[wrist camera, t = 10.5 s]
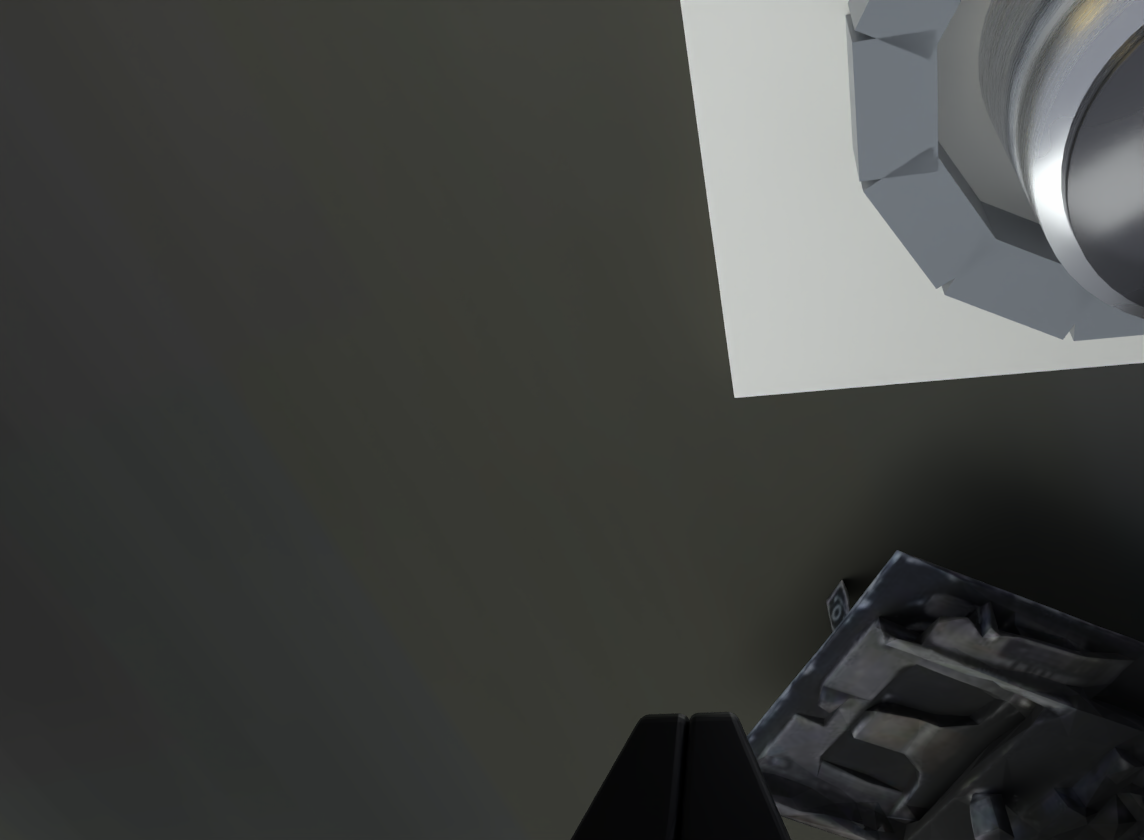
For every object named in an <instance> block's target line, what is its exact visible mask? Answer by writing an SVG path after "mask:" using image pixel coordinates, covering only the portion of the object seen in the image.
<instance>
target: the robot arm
mask: <svg viewBox="0 0 1144 840" xmlns="http://www.w3.org/2000/svg"><path fill="white" fill-rule="evenodd" d="M571 840H791V839H790V836H789V834H788V832H787V829H786V827H785V825H784V822H783V820H782V818H781V815H780V813H779V811H778V809H777V806H776V804H775V802H774V799H773V797H772V795H771V792H770V790H769V788H768V785H767V783H766V781H765V778H764V776H763V774H762V771H761V769H760V767H759V764H758V762H757V760H756V757H755V755H754V753H753V750H752V748H751V746H750V744H749V741H748V739H747V737H746V734H745V732H744V730H743V727H742V725H741V723H740V721H739V719H738V717H737V716H736V715H735V714H734V713H732V712H711V713H696V714H694V715H692V716H691V718H690V720H689V719H688V717H687V716H685V715H684V714H680V713H679V714H649V715H645V716H644V717H642V718H641V719H640V720H639V721H638V723H637V724H636V726H635V728H634V729H633V731H632V733H631V735H630V736H629V738H628V740H627V742H626V743H625V745H624V747H623V749H622V751H621V752H620V754H619V756H618V758H617V759H616V761H615V763H614V765H613V766H612V768H611V770H610V772H609V773H608V775H607V777H606V779H605V780H604V782H603V784H602V786H601V787H600V789H599V791H598V793H597V794H596V796H595V798H594V800H593V801H592V803H591V805H590V807H589V808H588V810H587V812H586V814H585V815H584V817H583V819H582V821H581V822H580V824H579V826H578V828H577V830H576V831H575V833H574V835H573V837H572V838H571Z"/></svg>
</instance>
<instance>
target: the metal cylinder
mask: <svg viewBox="0 0 1144 840" xmlns="http://www.w3.org/2000/svg"><path fill="white" fill-rule="evenodd" d="M978 69H979V82H980V88H981V93H982V98H983V101H984V104H985V107H986V110H987V113H988V115H989V118H990V120H991V122H992V124H993V126H994V128H995V130H996V132H997V134H998V137H999V139H1000V141H1001V143H1002V145H1003V147H1004V149H1005V151H1006V154H1007V156H1008V158H1009V160H1010V162H1011V164H1012V166H1013V168H1014V171H1015V173H1016V175H1017V177H1018V179H1019V181H1020V183H1021V185H1022V187H1023V190H1024V192H1025V194H1026V196H1027V198H1028V200H1029V202H1030V204H1031V207H1032V209H1033V211H1034V213H1035V215H1036V217H1037V219H1038V221H1039V224H1040V226H1041V228H1042V230H1043V232H1044V234H1045V236H1046V238H1047V240H1048V242H1049V244H1050V246H1051V248H1052V250H1053V252H1054V253H1055V255H1056V257H1057V259H1058V260H1059V261H1060V262H1061V264H1062V265H1063V266H1064V268H1065V269H1066V270H1067V272H1068V273H1069V274H1070V275H1071V276H1072V277H1073V278H1074V279H1075V280H1076V281H1077V282H1078V283H1079V284H1080V285H1081V286H1082V287H1083V288H1084V289H1085V290H1087V291H1088V292H1090V293H1091V294H1093V295H1094V296H1096V297H1097V298H1098V299H1100V300H1101V301H1103V302H1104V303H1106V304H1108V305H1110V306H1113V307H1115V308H1117V309H1119V310H1121V311H1123V312H1125V313H1128V314H1131V315H1134V316H1136V317H1139V318H1142V319H1144V0H991V2H990V5H989V8H988V10H987V13H986V16H985V20H984V24H983V28H982V32H981V37H980V45H979V55H978Z"/></svg>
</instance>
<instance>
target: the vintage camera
mask: <svg viewBox="0 0 1144 840" xmlns="http://www.w3.org/2000/svg"><path fill="white" fill-rule="evenodd" d="M826 604H827V609H828V614H829V619H830V624H831V629H832V634H831V635H830V636H829V637H828V639H827V640H826V641H825V642H824V644H823V645H822V646H821V647H820V649H819V650H818V651H817V652H816V653H815V655H814V656H813V657H812V658H811V659H810V661H809V662H808V663H807V664H806V665H805V667H804V668H803V669H802V670H801V671H800V673H799V674H798V675H797V676H796V677H795V678H794V680H793V681H792V682H791V683H790V684H789V686H788V687H787V688H786V689H785V690H784V692H783V693H782V694H781V695H780V697H779V698H778V699H777V700H776V701H775V703H774V704H773V705H772V706H771V708H770V709H769V710H768V711H767V712H766V714H765V715H764V716H763V717H762V719H761V720H760V721H759V722H758V723H757V725H756V726H755V727H754V728H753V729H752V731H751V732H750V733H749V734H748V736H747V739H748V741H749V744H750V746H751V748H752V750H753V753H754V755H755V757H756V760H757V762H758V764H759V767H760V769H761V771H762V774H763V776H764V778H765V781H766V783H767V785H768V788H769V790H770V792H771V795H772V797H773V799H774V802H775V804H776V806H777V809H778V811H779V813H780V815H781V816H782V817H785V818H788V819H791V820H794V821H797V822H800V823H803V824H806V825H809V826H812V827H815V828H818V829H821V830H824V831H827V832H829V833H832V834H835V835H838V836H841V837H844V838H847V839H850V840H1144V643H1143V642H1140V641H1137V640H1135V639H1132V638H1130V637H1127V636H1124V635H1121V634H1119V633H1116V632H1113V631H1110V630H1107V629H1104V628H1102V627H1099V626H1096V625H1094V624H1091V623H1088V622H1086V621H1083V620H1081V619H1078V618H1076V617H1073V616H1071V615H1068V614H1065V613H1063V612H1060V611H1058V610H1055V609H1053V608H1050V607H1047V606H1045V605H1042V604H1039V603H1037V602H1034V601H1031V600H1029V599H1026V598H1024V597H1021V596H1018V595H1016V594H1013V593H1010V592H1008V591H1005V590H1002V589H1000V588H997V587H994V586H992V585H989V584H986V583H984V582H981V581H979V580H976V579H973V578H971V577H968V576H965V575H963V574H960V573H957V572H955V571H952V570H949V569H947V568H944V567H941V566H938V565H936V564H933V563H930V562H928V561H925V560H922V559H920V558H917V557H914V556H912V555H909V554H906V553H904V552H901V551H898V550H897V551H896V552H895V553H894V555H893V556H892V557H891V558H890V560H889V561H888V562H887V564H886V565H885V566H884V567H883V569H882V570H881V571H880V573H879V574H878V575H877V577H876V578H875V579H874V580H873V582H872V583H871V584H870V586H869V587H868V588H867V589H866V591H865V592H864V593H863V595H862V596H861V597H860V598H859V600H858V601H857V602H856V604H855V605H854V606H853V607H852V609H851V610H850V600H849V593H848V590H847V588H846V586H845V584H844V582H843V580H841V581H840V583H839V584H838V585H837V587H836V588H835V589H834V591H833V592H832V593H831V595H830V596H829V597H828V599H827V600H826Z"/></svg>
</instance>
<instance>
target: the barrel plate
mask: <svg viewBox="0 0 1144 840" xmlns="http://www.w3.org/2000/svg"><path fill="white" fill-rule="evenodd" d="M680 2H681V9H682V16H683V24H684V31H685V38H686V46H687V53H688V60H689V68H690V75H691V82H692V90H693V97H694V104H695V112H696V119H697V126H698V134H699V141H700V148H701V156H702V163H703V170H704V178H705V185H706V192H707V200H708V207H709V214H710V222H711V229H712V236H713V244H714V251H715V258H716V266H717V273H718V280H719V288H720V295H721V302H722V310H723V317H724V324H725V332H726V339H727V346H728V354H729V361H730V368H731V376H732V383H733V391H734V398H739V397H751V396H763V395H774V394H786V393H797V392H809V391H821V390H832V389H844V388H855V387H867V386H879V385H890V384H902V383H914V382H925V381H937V380H948V379H960V378H972V377H983V376H995V375H1006V374H1018V373H1030V372H1041V371H1053V370H1064V369H1076V368H1088V367H1099V366H1111V365H1122V364H1134V363H1144V319H1142V318H1139V317H1136V316H1134V315H1131V314H1128V313H1125V312H1123V311H1121V310H1119V309H1117V308H1115V307H1113V306H1110V305H1108V304H1106V303H1104V302H1103V301H1101V300H1100V299H1098V298H1097V297H1096V296H1094V295H1093V294H1091V293H1090V292H1088V291H1087V290H1085V289H1084V288H1083V287H1082V286H1081V285H1080V284H1079V283H1078V282H1077V281H1076V280H1075V279H1074V278H1073V277H1072V276H1071V275H1070V274H1069V273H1068V272H1067V270H1066V269H1065V268H1064V266H1063V265H1062V264H1061V262H1060V261H1059V260H1058V259H1057V257H1056V255H1055V253H1054V252H1053V250H1052V248H1051V246H1050V244H1049V242H1048V240H1047V238H1046V236H1045V234H1044V232H1043V230H1042V228H1041V226H1040V224H1039V221H1038V219H1037V217H1036V215H1035V213H1034V211H1033V209H1032V207H1031V204H1030V202H1029V200H1028V198H1027V196H1026V194H1025V192H1024V190H1023V187H1022V185H1021V183H1020V181H1019V179H1018V177H1017V175H1016V173H1015V171H1014V168H1013V166H1012V164H1011V162H1010V160H1009V158H1008V156H1007V154H1006V151H1005V149H1004V147H1003V145H1002V143H1001V141H1000V139H999V137H998V134H997V132H996V130H995V128H994V126H993V124H992V122H991V120H990V118H989V115H988V113H987V110H986V107H985V104H984V101H983V98H982V93H981V88H980V82H979V69H978V55H979V45H980V37H981V32H982V28H983V24H984V20H985V16H986V13H987V10H988V8H989V5H990V2H991V0H680Z"/></svg>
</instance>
